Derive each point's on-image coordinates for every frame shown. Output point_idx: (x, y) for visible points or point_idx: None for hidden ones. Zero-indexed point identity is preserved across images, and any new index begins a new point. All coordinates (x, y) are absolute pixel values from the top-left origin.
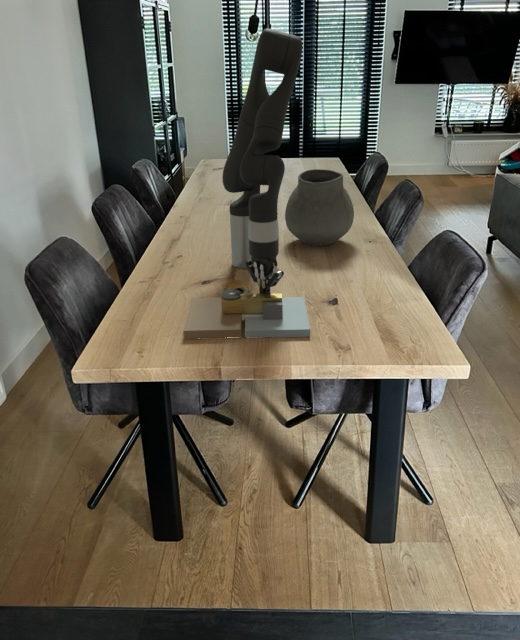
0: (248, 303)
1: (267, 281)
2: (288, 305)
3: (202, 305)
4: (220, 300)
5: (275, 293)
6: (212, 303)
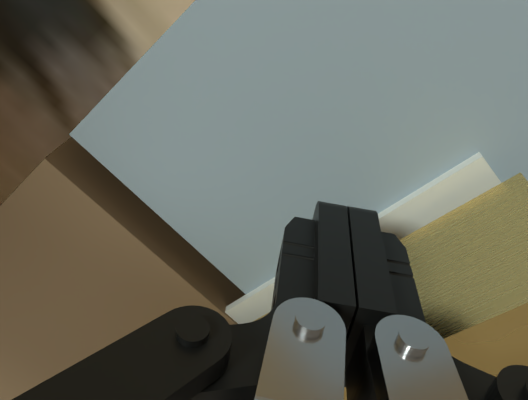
0: None
1: (375, 384)
2: (521, 17)
3: (11, 376)
4: (4, 285)
5: (514, 305)
6: (18, 336)
